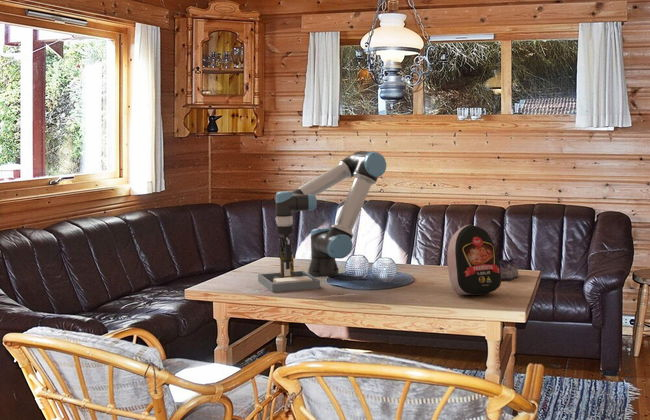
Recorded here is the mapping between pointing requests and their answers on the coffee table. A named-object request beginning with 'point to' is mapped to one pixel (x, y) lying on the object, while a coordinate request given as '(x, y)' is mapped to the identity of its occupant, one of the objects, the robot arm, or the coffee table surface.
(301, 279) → the cream rectangular block
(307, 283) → the gray tray
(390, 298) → the coffee table surface
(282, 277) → the condiment
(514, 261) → the geode
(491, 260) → the packaged food
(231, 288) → the coffee table surface
